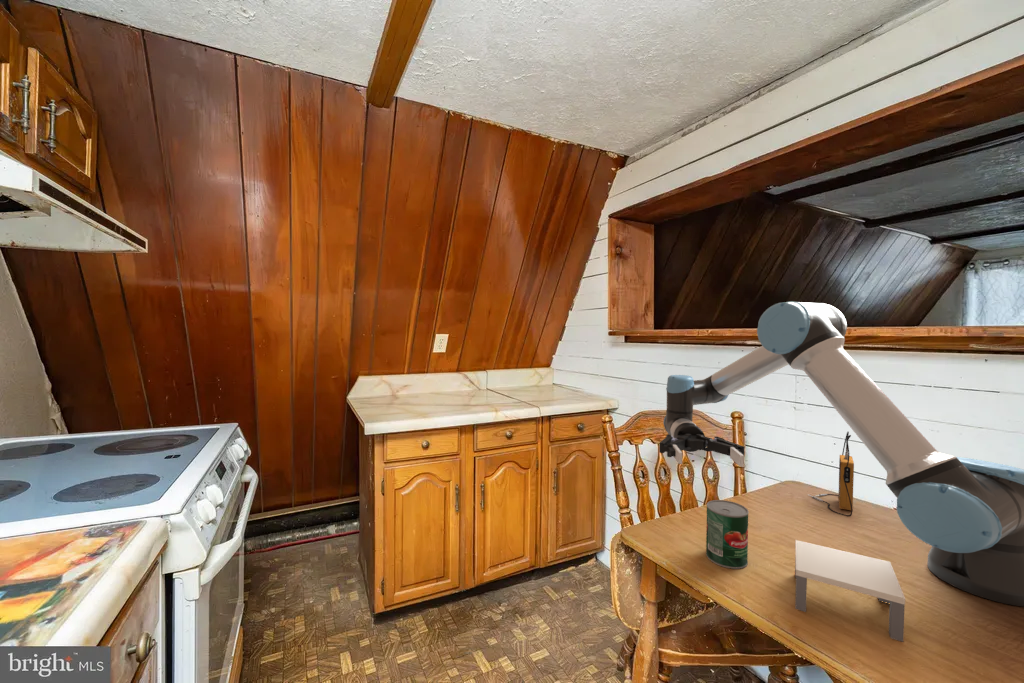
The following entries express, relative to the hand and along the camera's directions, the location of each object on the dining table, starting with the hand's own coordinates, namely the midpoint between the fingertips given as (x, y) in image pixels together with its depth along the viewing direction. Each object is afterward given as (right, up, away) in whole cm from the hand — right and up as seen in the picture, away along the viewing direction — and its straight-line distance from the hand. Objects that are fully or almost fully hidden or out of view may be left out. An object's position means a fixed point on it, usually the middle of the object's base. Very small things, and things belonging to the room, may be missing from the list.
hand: (711, 459), depth 98 cm
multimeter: (+41, -17, +18) cm, 48 cm away
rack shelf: (+12, -19, -24) cm, 33 cm away
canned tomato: (-1, -18, -9) cm, 21 cm away
